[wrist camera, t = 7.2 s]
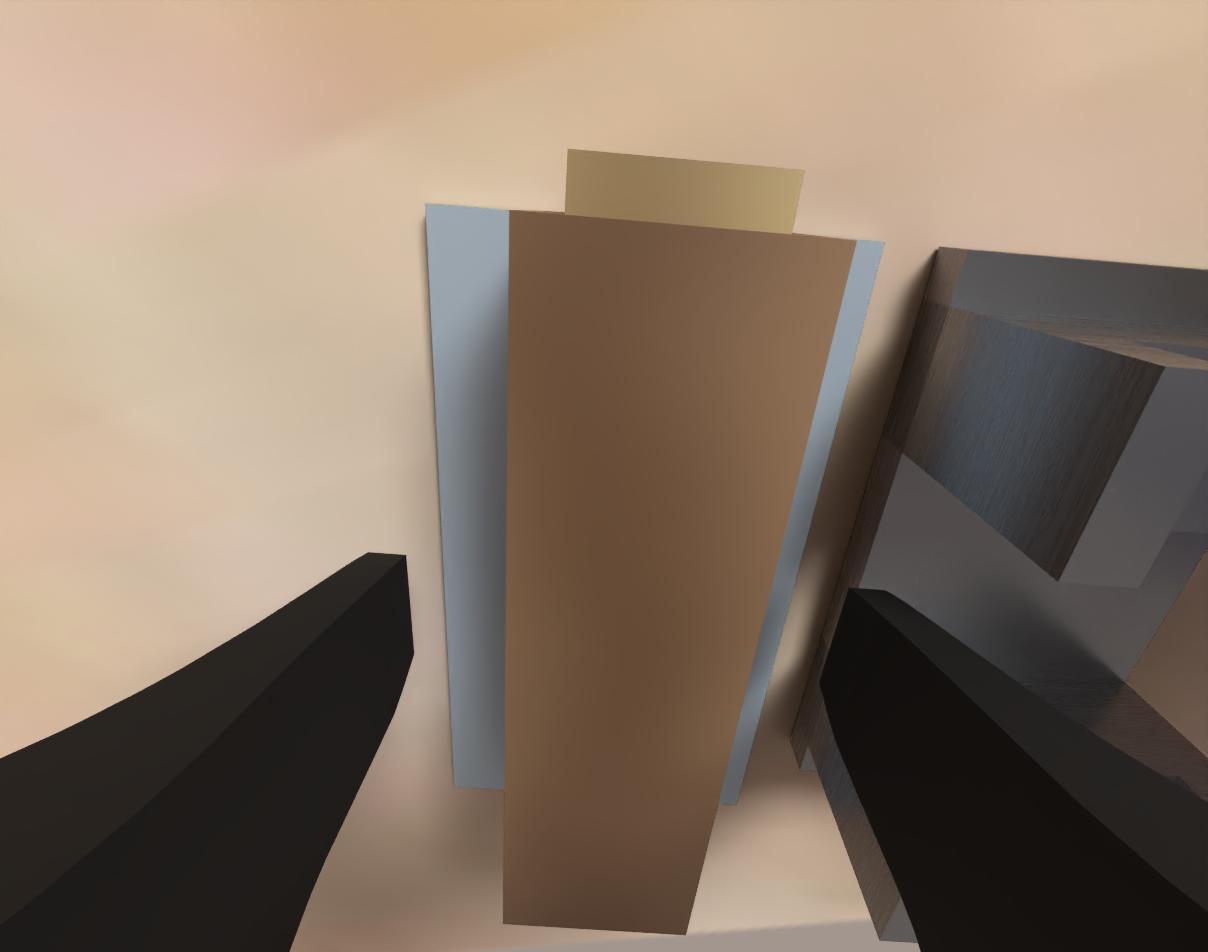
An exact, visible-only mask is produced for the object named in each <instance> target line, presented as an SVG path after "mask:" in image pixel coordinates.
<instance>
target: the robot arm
mask: <svg viewBox="0 0 1208 952" xmlns="http://www.w3.org/2000/svg"><path fill="white" fill-rule="evenodd" d="M413 656H414V647H413V634H412V622H411V610H410V598H409V585H408V573H407V561H406V555H398V554H384V553H370V552H368V553H366V554H365V555H363V556H361V557H359V558H358V559H356V560H354V561H353V562H351V563H350V564H348V565H346V566H345V567H343V568H342V569H340V570H339V571H337V572H336V573H334V574H333V575H331V576H330V577H328V578H327V579H325V580H324V581H322V582H320V583H319V584H317V585H316V586H314V587H313V588H311V589H310V590H308V591H307V592H305V593H304V594H302V595H301V596H299V597H298V598H296V599H295V600H293V601H291V602H290V603H288V604H287V605H285V606H284V607H282V608H281V609H279V610H277V611H276V612H274V613H273V614H271V615H270V616H268V617H267V618H265V619H264V620H262V621H260V622H259V623H257V624H256V625H254V626H252V627H251V628H249V629H247V630H246V631H244V632H242V633H241V634H239V635H237V636H236V637H234V638H232V639H231V640H229V641H227V642H226V643H224V644H222V645H220V646H219V647H217V648H215V649H214V650H212V651H210V652H209V653H207V654H205V655H204V656H202V657H200V658H199V659H197V660H195V661H194V662H192V663H190V664H188V665H187V666H185V667H183V668H182V669H180V670H178V671H176V672H175V673H173V674H171V675H169V676H167V677H166V678H164V679H162V680H160V681H158V682H156V683H155V684H153V685H151V686H149V687H147V688H145V689H143V690H142V691H140V692H138V693H136V694H134V695H132V696H130V697H128V698H126V699H124V700H122V701H120V702H118V703H116V704H114V705H112V706H110V707H108V708H106V709H105V710H103V711H101V712H99V713H97V714H95V715H93V716H91V717H89V718H87V719H85V720H83V721H81V722H79V723H77V724H75V725H73V726H70V727H68V728H66V729H64V730H62V731H60V732H58V733H56V734H54V735H52V736H49V737H47V738H45V739H43V740H40V741H38V742H36V743H34V744H32V745H29V746H27V747H25V748H23V749H20V750H18V751H16V752H14V753H11V754H9V755H7V756H5V757H3V758H0V952H289V951H290V949H291V946H292V943H293V941H294V938H295V935H296V933H297V930H298V927H299V925H300V922H301V919H302V916H303V914H304V911H305V908H306V906H307V903H308V900H309V898H310V895H311V893H312V890H313V888H314V886H315V883H316V881H317V879H318V876H319V874H320V872H321V869H322V867H323V865H324V862H325V860H326V858H327V856H328V853H329V851H330V849H331V847H332V845H333V843H334V841H335V839H336V837H337V834H338V832H339V830H340V828H341V826H342V824H343V822H344V820H345V818H346V816H347V813H348V811H349V809H350V807H351V805H352V803H353V801H354V799H355V797H356V794H357V792H358V790H359V788H360V786H361V784H362V782H363V780H364V778H365V776H366V773H367V771H368V769H369V767H370V765H371V763H372V761H373V759H374V757H375V754H376V752H377V750H378V748H379V746H380V744H381V742H382V739H383V737H384V735H385V733H386V731H387V729H388V727H389V724H390V722H391V720H392V718H393V716H394V713H395V711H396V708H397V705H398V702H399V699H400V696H401V693H402V690H403V687H404V684H405V681H406V678H407V675H408V672H409V669H410V665H411V662H412V659H413ZM819 684H820V688H821V692H822V695H823V699H824V703H825V707H826V711H827V715H828V718H829V721H830V725H831V728H832V731H833V735H834V738H835V741H836V744H837V747H838V749H839V752H840V754H841V757H842V759H843V761H844V764H845V766H846V769H847V771H848V773H849V776H850V778H851V781H852V783H853V785H854V788H855V790H856V793H857V795H858V797H859V800H860V802H861V804H862V807H863V809H864V811H865V814H866V816H867V818H868V821H869V823H870V825H871V828H872V830H873V832H874V835H875V837H876V839H877V842H878V844H879V846H880V849H881V851H882V853H883V856H884V858H885V860H886V863H887V865H888V867H889V870H890V872H891V874H892V877H893V879H894V881H895V884H896V886H897V888H898V891H899V893H900V896H901V898H902V901H903V904H904V906H905V909H906V911H907V914H908V917H909V919H910V922H911V924H912V927H913V929H914V932H915V935H916V938H917V941H918V944H919V948H920V951H921V952H1208V802H1207V801H1205V800H1203V799H1202V798H1200V797H1198V796H1197V795H1195V794H1193V793H1192V792H1190V791H1188V790H1186V789H1185V788H1183V787H1181V786H1180V785H1178V784H1176V783H1175V782H1173V781H1171V780H1169V779H1168V778H1166V777H1164V776H1163V775H1161V774H1159V773H1158V772H1156V771H1154V770H1152V769H1151V768H1149V767H1147V766H1146V765H1144V764H1142V763H1141V762H1139V761H1137V760H1136V759H1134V758H1133V757H1131V756H1129V755H1128V754H1126V753H1124V752H1123V751H1121V750H1120V749H1118V748H1116V747H1115V746H1113V745H1112V744H1110V743H1108V742H1107V741H1105V740H1104V739H1102V738H1101V737H1099V736H1098V735H1096V734H1095V733H1093V732H1092V731H1090V730H1089V729H1087V728H1085V727H1084V726H1082V725H1081V724H1079V723H1078V722H1076V721H1075V720H1073V719H1072V718H1070V717H1069V716H1067V715H1066V714H1064V713H1063V712H1061V711H1060V710H1058V709H1056V708H1055V707H1053V706H1052V705H1050V704H1049V703H1048V702H1046V701H1045V700H1043V699H1042V698H1040V697H1039V696H1037V695H1036V694H1034V693H1033V692H1031V691H1030V690H1029V689H1027V688H1026V687H1024V686H1023V685H1021V684H1020V683H1018V682H1017V681H1016V680H1014V679H1013V678H1011V677H1010V676H1008V675H1007V674H1006V673H1004V672H1003V671H1001V670H1000V669H999V668H997V667H996V666H994V665H993V664H992V663H990V662H989V661H987V660H986V659H985V658H983V657H982V656H980V655H979V654H978V653H976V652H975V651H973V650H972V649H971V648H969V647H968V646H966V645H965V644H964V643H962V642H961V641H959V640H958V639H957V638H955V637H954V636H953V635H951V634H950V633H948V632H947V631H946V630H944V629H943V628H941V627H940V626H939V625H937V624H936V623H934V622H933V621H932V620H930V619H929V618H927V617H926V616H925V615H923V614H922V613H920V612H919V611H917V610H916V609H915V608H913V607H912V606H910V605H909V604H907V603H906V602H904V601H903V600H901V599H900V598H898V597H896V596H895V595H893V594H891V593H890V592H888V591H886V590H878V589H864V588H851V587H849V588H848V591H847V594H846V598H845V601H844V604H843V607H842V610H841V614H840V617H839V620H838V623H837V626H836V630H835V633H834V636H833V639H832V642H831V646H830V649H829V652H828V655H827V658H826V662H825V665H824V668H823V671H822V674H821V677H820V681H819Z"/></svg>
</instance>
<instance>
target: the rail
mask: <svg viewBox="0 0 1208 952" xmlns="http://www.w3.org/2000/svg"><path fill="white" fill-rule="evenodd" d="M804 171H805V170H798V169H787V168H776V167H764V166H753V165H742V164H731V163H720V162H709V161H698V160H686V159H675V158H664V157H653V156H642V155H631V154H620V153H608V152H597V151H586V150H575V149H568V156H567V178H566V200H565V213H563V212H551V211H523V210H509V285H508V404H507V524H506V643H505V762H504V882H503V924H513V925H529V926H546V927H562V928H578V929H594V930H611V931H627V932H643V933H659V934H675V935H686V932H687V928H688V924H689V920H690V916H691V912H692V908H693V904H694V900H695V896H696V892H697V888H698V884H699V880H700V876H701V871H702V867H703V863H704V859H705V855H706V851H707V847H708V843H709V839H710V835H711V831H712V827H713V823H714V819H715V815H716V811H717V807H718V803H719V798H720V794H721V790H722V786H723V782H724V778H725V774H726V770H727V766H728V762H729V758H730V754H731V750H732V746H733V742H734V738H735V734H736V730H737V725H738V721H739V717H740V713H741V709H742V705H743V701H744V697H745V693H746V689H747V685H748V681H749V677H750V673H751V669H752V665H753V661H754V657H755V652H756V648H757V644H758V640H759V636H760V632H761V628H762V624H763V620H764V616H765V612H766V608H767V604H768V600H769V596H770V592H771V588H772V584H773V579H774V575H775V571H776V567H777V563H778V559H779V555H780V551H781V547H782V543H783V539H784V535H785V531H786V527H787V523H788V519H789V515H790V511H791V506H792V502H793V498H794V494H795V490H796V486H797V482H798V478H799V474H800V470H801V466H802V462H803V458H804V454H805V450H806V446H807V442H808V438H809V433H810V429H811V425H812V421H813V417H814V413H815V409H816V405H817V401H818V397H819V393H820V389H821V385H822V381H823V377H824V373H825V369H826V365H827V360H828V356H829V352H830V348H831V344H832V340H833V336H834V332H835V328H836V324H837V320H838V316H839V312H840V308H841V304H842V300H843V296H844V292H845V287H846V283H847V279H848V275H849V271H850V267H851V263H852V259H853V255H854V251H855V247H856V243H857V240H848V239H839V238H830V237H822V236H813V235H804V234H795V233H792V231H793V226H794V221H795V216H796V211H797V206H798V201H799V196H800V191H801V186H802V181H803V176H804Z"/></svg>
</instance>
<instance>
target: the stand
mask: <svg viewBox="0 0 1208 952" xmlns="http://www.w3.org/2000/svg"><path fill="white" fill-rule="evenodd" d="M1207 548H1208V270H1207V269H1196V268H1184V267H1172V266H1160V265H1148V264H1137V263H1125V262H1113V261H1101V260H1089V259H1078V258H1066V257H1054V256H1042V255H1031V254H1019V253H1007V252H995V251H983V250H972V249H960V248H948V247H939V249H938V253H937V256H936V259H935V262H934V266H933V269H932V272H931V276H930V279H929V282H928V286H927V289H926V292H925V296H924V299H923V302H922V306H921V309H920V312H919V315H918V319H917V322H916V325H915V329H914V332H913V335H912V339H911V342H910V345H909V349H908V352H907V355H906V359H905V362H904V365H903V368H902V372H901V375H900V378H899V382H898V385H897V388H896V392H895V395H894V398H893V402H892V405H891V408H890V412H889V415H888V418H887V421H886V425H885V428H884V431H883V435H882V438H881V441H880V445H879V448H878V451H877V455H876V458H875V461H874V465H873V468H872V471H871V474H870V478H869V481H868V484H867V488H866V491H865V494H864V498H863V501H862V504H861V508H860V511H859V514H858V518H857V521H856V524H855V527H854V531H853V534H852V537H851V541H850V544H849V547H848V551H847V554H846V557H845V561H844V564H843V567H842V571H841V574H840V577H839V580H838V584H837V587H836V590H835V594H834V597H833V600H832V604H831V607H830V610H829V614H828V617H827V620H826V623H825V627H824V630H823V633H822V637H821V640H820V643H819V647H818V650H817V653H816V657H815V660H814V663H813V667H812V670H811V673H810V676H809V680H808V683H807V686H806V690H805V693H804V696H803V700H802V703H801V706H800V710H799V713H798V716H797V720H796V723H795V726H794V729H793V733H792V736H791V739H790V742H791V745H792V748H793V751H794V754H795V757H796V760H797V763H798V766H799V769H800V771H814V772H818V774H819V777H820V779H821V782H822V785H823V788H824V790H825V793H826V796H827V799H828V801H829V804H830V807H831V810H832V812H833V815H834V818H835V820H836V823H837V826H838V829H839V831H840V834H841V837H842V840H843V842H844V845H845V848H846V850H847V853H848V856H849V859H850V861H851V864H852V867H853V870H854V872H855V875H856V878H857V880H858V883H859V886H860V889H861V891H862V894H863V897H864V900H865V902H866V905H867V908H868V911H869V913H870V916H871V919H872V921H873V924H874V927H875V930H876V932H877V935H878V937H879V940H880V941H895V942H896V941H897V942H913V943H918V941H917V938H916V935H915V932H914V929H913V927H912V924H911V922H910V919H909V917H908V914H907V911H906V909H905V906H904V904H903V901H902V898H901V896H900V893H899V891H898V888H897V886H896V884H895V881H894V879H893V877H892V874H891V872H890V870H889V867H888V865H887V863H886V860H885V858H884V856H883V853H882V851H881V849H880V846H879V844H878V842H877V839H876V837H875V835H874V832H873V830H872V828H871V825H870V823H869V821H868V818H867V816H866V814H865V811H864V809H863V807H862V804H861V802H860V800H859V797H858V795H857V793H856V790H855V788H854V785H853V783H852V781H851V778H850V776H849V773H848V771H847V769H846V766H845V764H844V761H843V759H842V757H841V754H840V752H839V749H838V747H837V744H836V741H835V738H834V735H833V731H832V728H831V725H830V721H829V718H828V715H827V711H826V707H825V703H824V699H823V695H822V692H821V688H820V684H819V681H820V677H821V674H822V671H823V668H824V665H825V662H826V658H827V655H828V652H829V649H830V646H831V642H832V639H833V636H834V633H835V630H836V626H837V623H838V620H839V617H840V614H841V610H842V607H843V604H844V601H845V598H846V594H847V591H848V588H849V587H851V588H864V589H878V590H886V591H888V592H890V593H891V594H893V595H895V596H896V597H898V598H900V599H901V600H903V601H904V602H906V603H907V604H909V605H910V606H912V607H913V608H915V609H916V610H917V611H919V612H920V613H922V614H923V615H925V616H926V617H927V618H929V619H930V620H932V621H933V622H934V623H936V624H937V625H939V626H940V627H941V628H943V629H944V630H946V631H947V632H948V633H950V634H951V635H953V636H954V637H955V638H957V639H958V640H959V641H961V642H962V643H964V644H965V645H966V646H968V647H969V648H971V649H972V650H973V651H975V652H976V653H978V654H979V655H980V656H982V657H983V658H985V659H986V660H987V661H989V662H990V663H992V664H993V665H994V666H996V667H997V668H999V669H1000V670H1001V671H1003V672H1004V673H1006V674H1007V675H1008V676H1010V677H1011V678H1013V679H1014V680H1016V681H1017V682H1018V683H1020V684H1021V685H1023V686H1024V687H1026V688H1027V689H1029V690H1030V691H1031V692H1033V693H1034V694H1036V695H1037V696H1039V697H1040V698H1042V699H1043V700H1045V701H1046V702H1048V703H1049V704H1050V705H1052V706H1053V707H1055V708H1056V709H1058V710H1060V711H1061V712H1063V713H1064V714H1066V715H1067V716H1069V717H1070V718H1072V719H1073V720H1075V721H1076V722H1078V723H1079V724H1081V725H1082V726H1084V727H1085V728H1087V729H1089V730H1090V731H1092V732H1093V733H1095V734H1096V735H1098V736H1099V737H1101V738H1102V739H1104V740H1105V741H1107V742H1108V743H1110V744H1112V745H1113V746H1115V747H1116V748H1118V749H1120V750H1121V751H1123V752H1124V753H1126V754H1128V755H1129V756H1131V757H1133V758H1134V759H1136V760H1137V761H1139V762H1141V763H1142V764H1144V765H1146V766H1147V767H1149V768H1151V769H1152V770H1154V771H1156V772H1158V773H1159V774H1161V775H1163V776H1164V777H1166V778H1168V779H1169V780H1171V781H1173V782H1175V783H1176V784H1178V785H1180V786H1181V787H1183V788H1185V789H1186V790H1188V791H1190V792H1192V793H1193V794H1195V795H1197V796H1198V797H1200V798H1202V799H1203V800H1205V801H1207V802H1208V758H1207V757H1206V756H1205V755H1204V754H1202V753H1201V752H1200V751H1199V750H1198V749H1197V748H1196V747H1195V746H1194V745H1193V744H1192V743H1190V742H1189V741H1188V740H1187V739H1186V738H1185V737H1184V736H1183V735H1182V734H1181V733H1180V732H1178V731H1177V730H1176V729H1175V728H1174V727H1173V726H1172V725H1171V724H1170V723H1169V722H1168V721H1166V720H1165V719H1164V718H1163V717H1162V716H1161V715H1160V714H1159V713H1158V712H1157V711H1156V710H1154V709H1153V708H1152V707H1151V706H1150V705H1149V704H1148V703H1147V702H1146V701H1145V700H1144V699H1142V698H1141V697H1140V696H1139V695H1138V694H1137V693H1136V692H1135V691H1134V690H1133V689H1132V688H1130V687H1129V686H1128V685H1127V684H1126V683H1125V682H1126V680H1127V678H1128V677H1129V675H1130V673H1131V672H1132V670H1133V668H1134V667H1135V665H1136V664H1137V662H1138V660H1139V659H1140V657H1141V655H1142V654H1143V652H1144V651H1145V649H1146V647H1147V646H1148V644H1149V642H1150V641H1151V639H1152V637H1153V636H1154V634H1155V633H1156V631H1157V629H1158V628H1159V626H1160V624H1161V623H1162V621H1163V620H1164V618H1165V616H1166V615H1167V613H1168V611H1169V610H1170V608H1171V606H1172V605H1173V603H1174V602H1175V600H1176V598H1177V597H1178V595H1179V593H1180V592H1181V590H1182V589H1183V587H1184V585H1185V584H1186V582H1187V580H1188V579H1189V577H1190V575H1191V574H1192V572H1193V571H1194V569H1195V567H1196V566H1197V564H1198V562H1199V561H1200V559H1201V558H1202V556H1203V554H1204V553H1205V551H1206V549H1207Z"/></svg>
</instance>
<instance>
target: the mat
mask: <svg viewBox="0 0 1208 952" xmlns="http://www.w3.org/2000/svg"><path fill="white" fill-rule="evenodd" d="M425 207H426V227H427V247H428V267H429V288H430V308H431V328H432V348H433V368H434V388H435V408H436V429H437V449H438V469H439V489H440V509H441V529H442V550H443V570H444V590H445V610H446V630H447V650H448V670H449V691H450V711H451V731H452V751H453V771H454V787H462V788H477V789H492V790H504V762H505V643H506V524H507V404H508V285H509V210H500V209H488V208H476V207H465V206H453V205H441V204H428V203H425ZM839 239H842V238H839ZM848 240H854V239H848ZM884 244H885V242H877V241H865V240H857V243H856V247H855V251H854V255H853V259H852V263H851V267H850V271H849V275H848V279H847V283H846V287H845V292H844V296H843V300H842V304H841V308H840V312H839V316H838V320H837V324H836V328H835V332H834V336H833V340H832V344H831V348H830V352H829V356H828V360H827V365H826V369H825V373H824V377H823V381H822V385H821V389H820V393H819V397H818V401H817V405H816V409H815V413H814V417H813V421H812V425H811V429H810V433H809V438H808V442H807V446H806V450H805V454H804V458H803V462H802V466H801V470H800V474H799V478H798V482H797V486H796V490H795V494H794V498H793V502H792V506H791V511H790V515H789V519H788V523H787V527H786V531H785V535H784V539H783V543H782V547H781V551H780V555H779V559H778V563H777V567H776V571H775V575H774V579H773V584H772V588H771V592H770V596H769V600H768V604H767V608H766V612H765V616H764V620H763V624H762V628H761V632H760V636H759V640H758V644H757V648H756V652H755V657H754V661H753V665H752V669H751V673H750V677H749V681H748V685H747V689H746V693H745V697H744V701H743V705H742V709H741V713H740V717H739V721H738V725H737V730H736V734H735V738H734V742H733V746H732V750H731V754H730V758H729V762H728V766H727V770H726V774H725V778H724V782H723V786H722V790H721V794H720V798H719V803H718V804H723V805H737V801H738V797H739V794H740V790H741V786H742V782H743V779H744V775H745V771H746V767H747V763H748V760H749V756H750V752H751V748H752V744H753V741H754V737H755V733H756V729H757V725H758V722H759V718H760V714H761V710H762V706H763V703H764V699H765V695H766V691H767V688H768V684H769V680H770V676H771V672H772V669H773V665H774V661H775V657H776V653H777V650H778V646H779V642H780V638H781V634H782V631H783V627H784V623H785V619H786V616H787V612H788V608H789V604H790V600H791V597H792V593H793V589H794V585H795V581H796V578H797V574H798V570H799V566H800V562H801V559H802V555H803V551H804V547H805V544H806V540H807V536H808V532H809V528H810V525H811V521H812V517H813V513H814V509H815V506H816V502H817V498H818V494H819V490H820V487H821V483H822V479H823V475H824V472H825V468H826V464H827V460H828V456H829V453H830V449H831V445H832V441H833V437H834V434H835V430H836V426H837V422H838V418H839V415H840V411H841V407H842V403H843V399H844V396H845V392H846V388H847V384H848V381H849V377H850V373H851V369H852V365H853V362H854V358H855V354H856V350H857V346H858V343H859V339H860V335H861V331H862V327H863V324H864V320H865V316H866V312H867V309H868V305H869V301H870V297H871V293H872V290H873V286H874V282H875V278H876V274H877V271H878V267H879V263H880V259H881V255H882V252H883V248H884Z"/></svg>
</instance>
